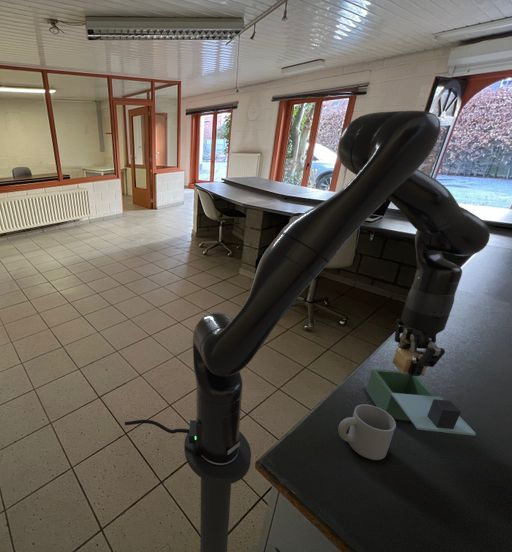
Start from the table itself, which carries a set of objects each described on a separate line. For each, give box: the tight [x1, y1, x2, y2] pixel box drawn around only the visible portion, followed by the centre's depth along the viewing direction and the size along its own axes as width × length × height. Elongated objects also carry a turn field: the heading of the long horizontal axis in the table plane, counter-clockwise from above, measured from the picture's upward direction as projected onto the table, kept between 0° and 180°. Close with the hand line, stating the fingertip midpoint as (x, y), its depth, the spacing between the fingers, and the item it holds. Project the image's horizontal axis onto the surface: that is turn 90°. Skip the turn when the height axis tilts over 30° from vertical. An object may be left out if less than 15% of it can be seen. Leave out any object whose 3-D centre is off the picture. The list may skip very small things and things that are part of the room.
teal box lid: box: [391, 393, 477, 436], centre depth 64 cm, size 10×10×5 cm
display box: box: [365, 368, 437, 422], centre depth 76 cm, size 10×10×8 cm
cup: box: [337, 403, 397, 461], centre depth 66 cm, size 7×10×9 cm
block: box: [392, 347, 428, 376], centre depth 72 cm, size 4×4×4 cm
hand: (407, 367), depth 73 cm, fingers closed on block, 4 cm apart
